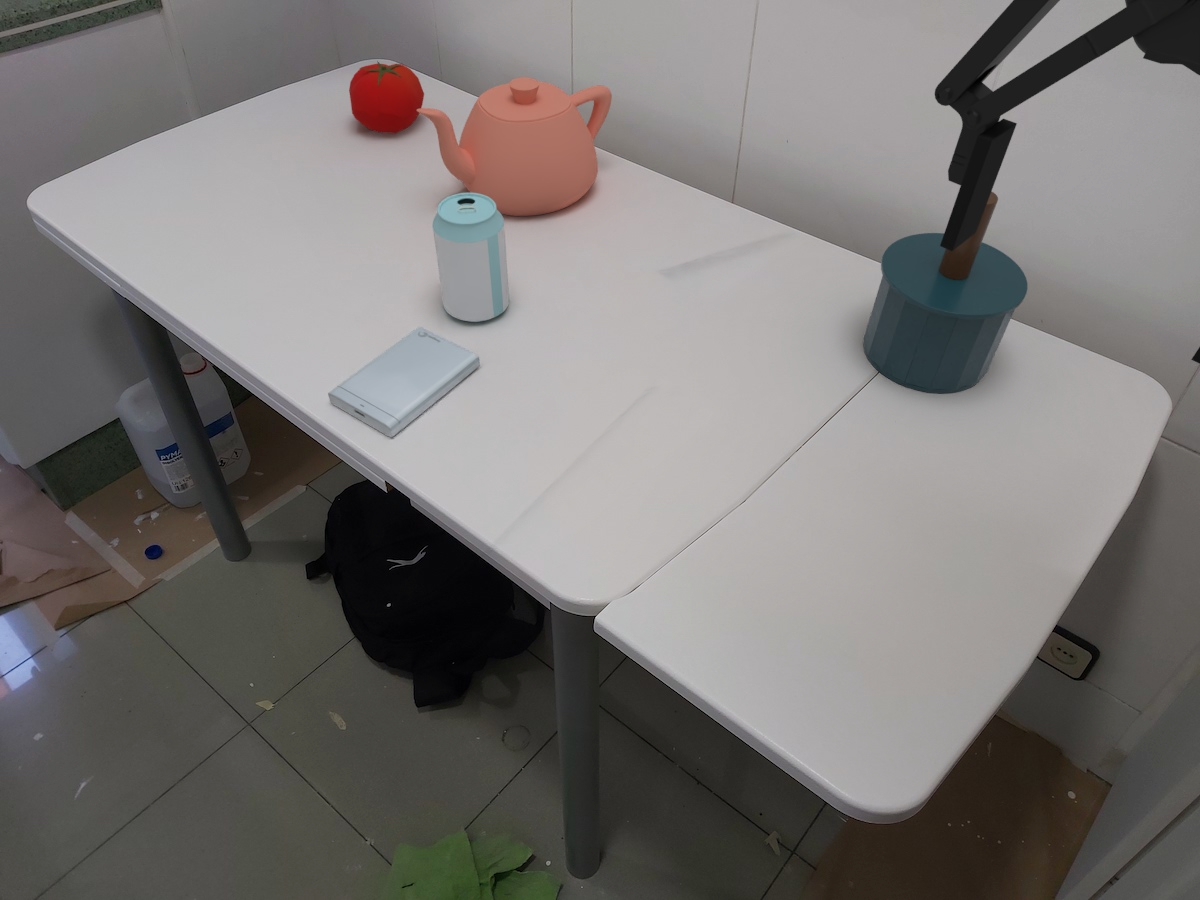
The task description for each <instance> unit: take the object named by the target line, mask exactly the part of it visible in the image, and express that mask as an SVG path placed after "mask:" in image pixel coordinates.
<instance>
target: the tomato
mask: <svg viewBox="0 0 1200 900" xmlns="http://www.w3.org/2000/svg"><path fill="white" fill-rule="evenodd" d="M376 61H377V62H376V63H372V64H368V65H364V66H361V67H359V68H358V70H357V71H356V72H355V73H354V74H353V77H352V78H351V80H350V82H349V89H348V92H349V100H350V107H351V114H352V116H353V117H354V118H355V120H357V122H359V123H360V124H361V125H362V126H364V127H365V128H366V129H369V130H371V131H374V132H377V133H382V134H383V133H385V134H397V133H399V132H401V131H403V130H405V129H407V128H409V127H411V126H412V124H413V123H414V122H415V121H416V120H417V118H418V117H419V114H420V113H419V112H417V109H420V108H423V107H422V106H423V104H424V98H425V92H424V90H423V89H424V88H423V86H422V84H421V81H420V79H419V77H418V76H417V75H416V74H415V73H414V72H413V70H412V69H411V68H410V67H408V66H407V65H406V66H405V65H404V64H403V62H401V63H394V64H393V63H392V64H389V65H388V64H386V63H380V62H379V60H376Z"/></svg>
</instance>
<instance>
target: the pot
mask: <svg viewBox="0 0 1200 900" xmlns="http://www.w3.org/2000/svg"><path fill="white" fill-rule="evenodd" d="M1015 310H1016V309H1014V310H1013V311H1011V312H1009V313H1007V314H1004V315H1001V316H998V317H993V318H987V319H961V318H954V317H949V316H944V315H940V314H936V313H933V312H930V311H928V310H925V309H922V308H920V307H918V306H916V305H914V304H912V303H910V302H908V301H907V300H905V299H904V298H902V297H901V296H900V295H898V294H897V293H896V292H895V291H894V290H893V289H892V288H891V287H890V286H889V285H888V283H887V282H886V281H885V279H884V277H883V275H882V277H881V279H880V283H879V286H878V290H877V293H876V296H875V300H874V303H873V306H872V310H871V313H870V317H869V320H868V323H867V327H866V329H865V332H864V337H863V339H862V341H863V344H862V346H863V351H864V354H865V356H866V358H867V360H868V361H869V363H870V364H871V365H872V366H873V367H874V368H875V370H877V372H879V373H880V374H881V375H883V376H884V377H886V378H887V379H889V380H890V381H892V382H893V383H896V384H899V385H900V386H903V387H906V388H908V389H912V390H915V391H920V392H924V393H931V394H951V393H952V394H953V393H958V392H961V391H965V390H968V389H970V388H972V387H973V386H976V385H977V384H978V383H980V382H981V381H982V379H983V378H984V377H985V375H986V374H987V372H988V371H989V369H990V367H991V364H992V362H993V359H994V357H995V355H996V353H997V351H998V349H999V346H1000V343H1001V341H1002V339H1003V337H1004V334H1005V333H1006V330H1007V328H1008V326H1009V324H1010V321H1011V320H1012V317H1013V315H1014V312H1015Z"/></svg>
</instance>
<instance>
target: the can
mask: <svg viewBox="0 0 1200 900" xmlns="http://www.w3.org/2000/svg"><path fill="white" fill-rule="evenodd" d="M436 211H437V213H436V215H435V216H434V217H433V219H432V231H433V238H434V239H433V241H434V245H435V254H436V261H437V262H436V263H437V267H438V276H439V284H440V290H441V291H440V292H441V297H442V305H443V308H444V310H445V311H446V312H447V314H449V315H450V316H451V317H453V318H455V319H457V320H461V321H464V322H469V323H482V322H485V321H489V320H491V319H494V318H496V317H498V316H499V315H501V314H502V313H503V312H505V311H506V309H507V308H508V306H509V304H510V288H509V287H510V286H509V274H508V260H507V246H506V245H507V244H506V232H505V231H506V230H505V219H504V217H503V214H501V213H500V212H499V211H498V210H497V209H496V204H495V202H494V201H493V200H492V199H491V198H489V197H488V196H485V195H483V194H479V193H471V192H460V193H459V192H458V193H455V194H452V195H449V196H447V197H444V198H443V199H442V200H441V201H440V202H439V203H438V205H437V208H436Z"/></svg>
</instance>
